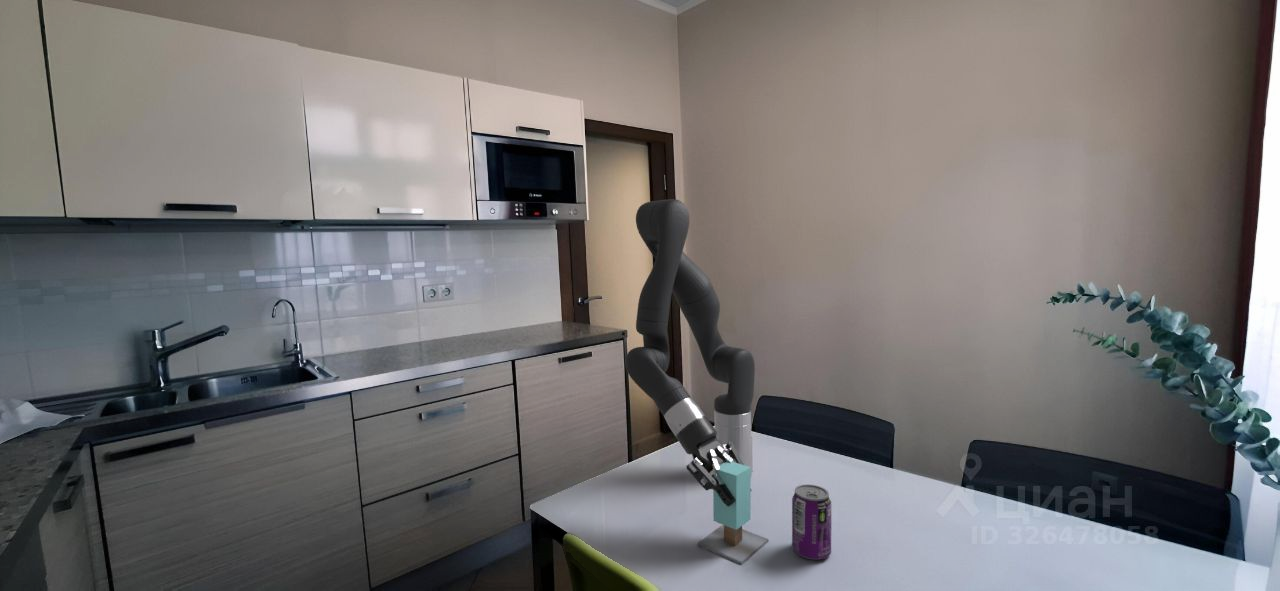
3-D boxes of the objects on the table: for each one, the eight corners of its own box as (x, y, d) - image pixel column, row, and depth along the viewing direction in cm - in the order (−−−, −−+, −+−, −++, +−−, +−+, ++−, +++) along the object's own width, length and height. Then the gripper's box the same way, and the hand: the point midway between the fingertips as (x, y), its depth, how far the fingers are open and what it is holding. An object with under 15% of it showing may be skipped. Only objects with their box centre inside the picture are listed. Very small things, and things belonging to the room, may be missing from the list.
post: (725, 524, 111) (725, 481, 110) (768, 541, 104) (768, 495, 103) (697, 545, 103) (696, 498, 103) (741, 564, 97) (741, 515, 96)
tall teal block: (727, 511, 107) (727, 460, 106) (750, 519, 103) (750, 467, 102) (713, 520, 103) (713, 468, 102) (736, 529, 99) (736, 475, 99)
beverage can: (834, 564, 96) (834, 501, 95) (793, 561, 97) (793, 498, 96) (828, 543, 103) (828, 484, 102) (790, 540, 104) (790, 482, 103)
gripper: (678, 423, 101) (732, 503, 94) (720, 407, 112) (770, 477, 105) (658, 444, 105) (707, 521, 98) (699, 426, 116) (747, 495, 109)
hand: (740, 498), depth 102 cm, fingers closed on tall teal block, 5 cm apart
